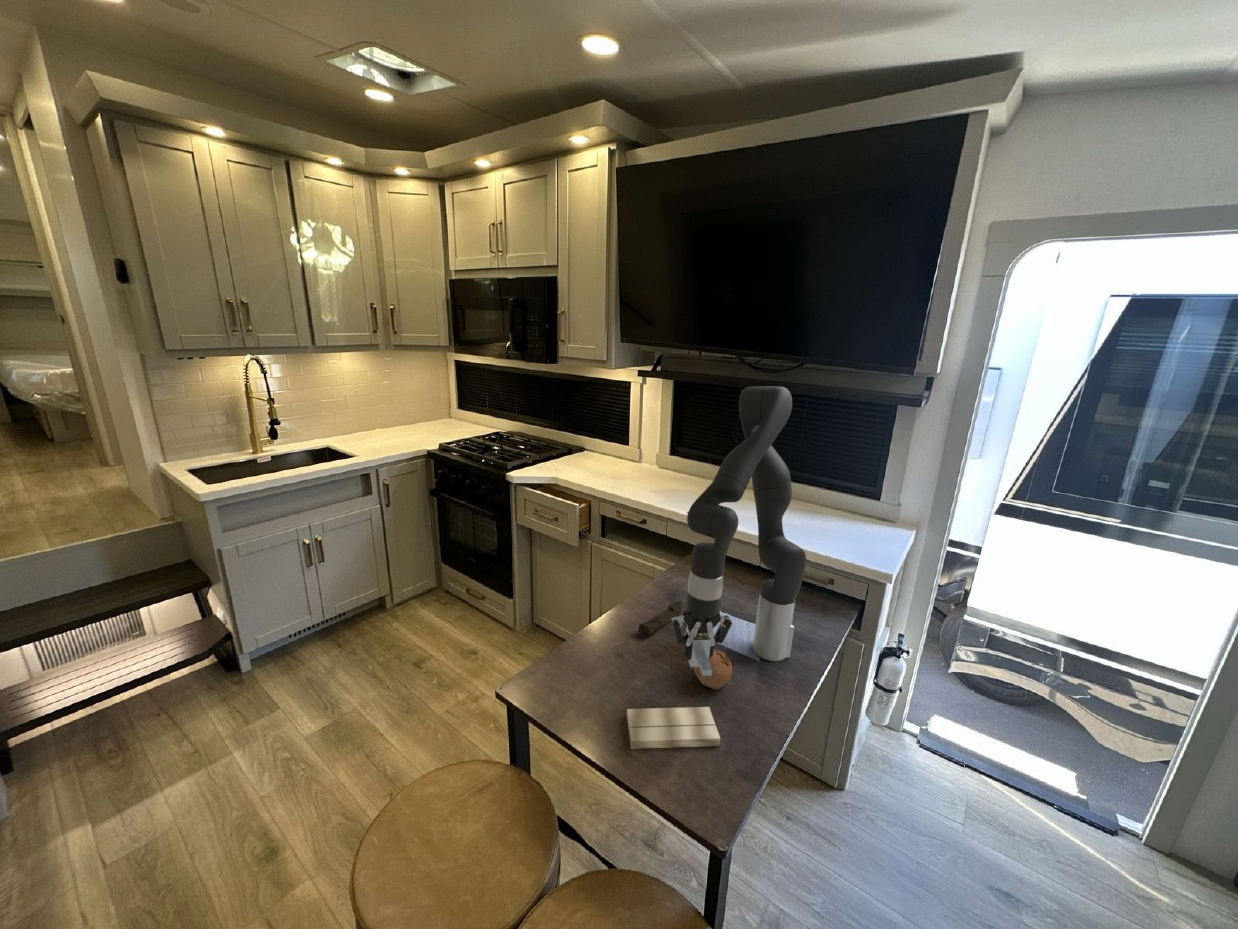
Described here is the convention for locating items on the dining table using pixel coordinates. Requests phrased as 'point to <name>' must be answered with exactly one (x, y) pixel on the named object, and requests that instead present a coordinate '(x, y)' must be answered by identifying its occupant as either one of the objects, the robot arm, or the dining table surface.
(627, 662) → the dining table surface
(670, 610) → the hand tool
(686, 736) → the board
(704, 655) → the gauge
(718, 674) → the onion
